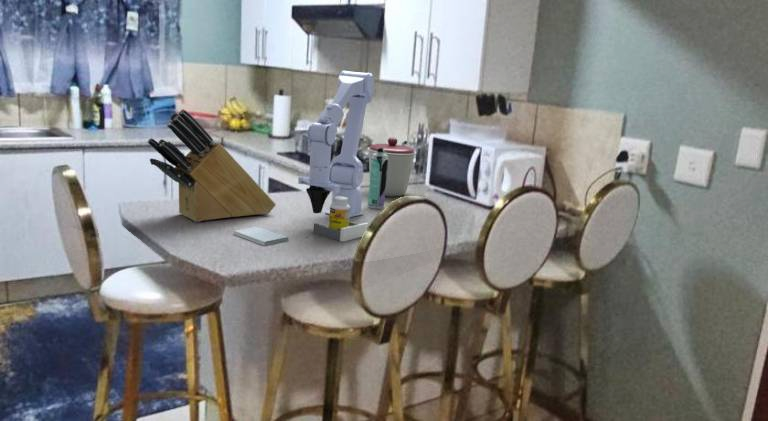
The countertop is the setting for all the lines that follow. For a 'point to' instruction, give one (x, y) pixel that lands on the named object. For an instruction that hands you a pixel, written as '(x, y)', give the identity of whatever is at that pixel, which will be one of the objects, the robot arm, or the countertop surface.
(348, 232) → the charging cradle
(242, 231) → the hard drive
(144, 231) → the countertop surface
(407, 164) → the canister
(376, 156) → the spray can
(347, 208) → the supplement bottle
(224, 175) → the knife block
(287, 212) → the countertop surface
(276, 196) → the countertop surface
